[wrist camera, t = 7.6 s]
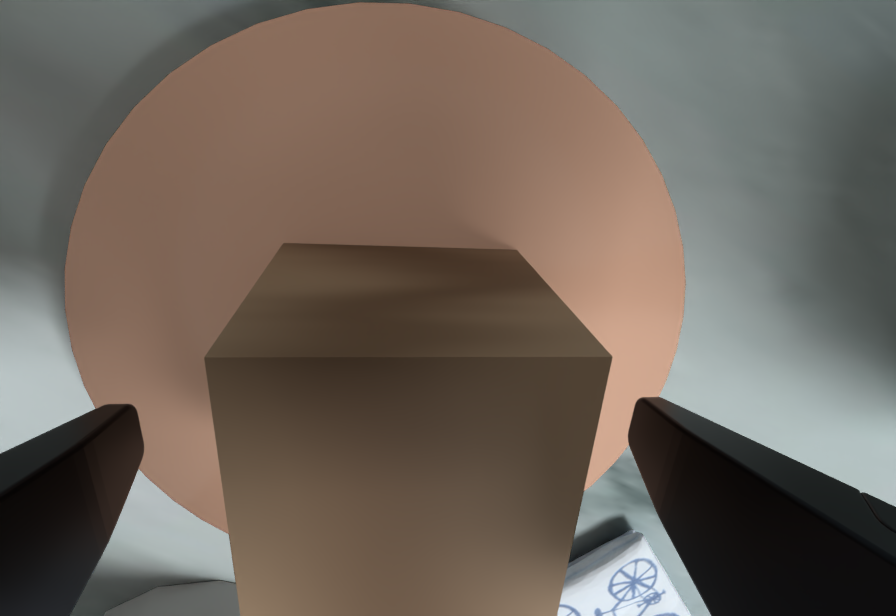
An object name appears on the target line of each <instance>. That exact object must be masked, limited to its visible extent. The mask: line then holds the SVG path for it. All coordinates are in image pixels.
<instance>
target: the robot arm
mask: <svg viewBox="0 0 896 616" xmlns="http://www.w3.org/2000/svg"><path fill="white" fill-rule="evenodd" d="M628 443H629V446H630V449H631V451H632V454H633V456H634V459H635V461H636V463H637V466H638V468H639V471H640V473H641V476H642V478H643V481H644V483H645V485H646V488H647V490H648V493H649V495H650V498H651V500H652V503H653V505H654V507H655V509H656V512H657V514H658V516H659V518H660V520H661V522H662V524H663V526H664V528H665V530H666V532H667V534H668V536H669V537H670V539H671V541H672V543H673V545H674V547H675V549H676V551H677V552H678V554H679V556H680V558H681V560H682V562H683V564H684V566H685V567H686V569H687V571H688V573H689V575H690V577H691V579H692V580H693V582H694V584H695V586H696V588H697V590H698V592H699V594H700V595H701V597H702V599H703V601H704V603H705V605H706V607H707V609H708V610H709V612H710V614H711V616H896V507H895V506H893V505H890V504H888V503H886V502H884V501H882V500H880V499H877V498H875V497H873V496H871V495H869V494H867V493H864V492H863V493H860V491H859V490H858V489H856V488H854V487H852V486H849V485H847V484H845V483H843V482H841V481H839V480H837V479H834V478H832V477H830V476H828V475H826V474H824V473H822V472H819V471H817V470H815V469H813V468H811V467H809V466H807V465H804V464H802V463H800V462H798V461H796V460H794V459H792V458H789V457H787V456H785V455H783V454H781V453H779V452H777V451H774V450H772V449H770V448H768V447H766V446H764V445H762V444H759V443H757V442H755V441H753V440H751V439H749V438H747V437H744V436H742V435H740V434H738V433H736V432H734V431H732V430H729V429H727V428H725V427H723V426H721V425H719V424H717V423H714V422H712V421H710V420H708V419H706V418H704V417H702V416H699V415H697V414H695V413H693V412H691V411H689V410H687V409H684V408H682V407H680V406H678V405H676V404H674V403H672V402H669V401H667V400H665V399H663V398H661V397H641V398H639V399H638V400H637V401H636V403H635V406H634V410H633V414H632V418H631V422H630V426H629V430H628ZM143 454H144V441H143V436H142V431H141V426H140V421H139V416H138V412H137V409H136V408H135V406H133V405H132V404H106V405H103V406H101V407H99V408H96V409H94V410H92V411H90V412H88V413H86V414H84V415H82V416H79V417H77V418H75V419H73V420H71V421H69V422H67V423H65V424H62V425H60V426H58V427H56V428H54V429H52V430H50V431H48V432H45V433H43V434H41V435H39V436H37V437H35V438H33V439H31V440H28V441H26V442H24V443H22V444H20V445H18V446H16V447H14V448H11V449H9V450H7V451H5V452H3V453H1V454H0V616H70V614H71V612H72V610H73V609H74V607H75V605H76V603H77V601H78V599H79V597H80V595H81V594H82V592H83V590H84V588H85V586H86V584H87V582H88V580H89V579H90V577H91V575H92V573H93V571H94V569H95V567H96V565H97V564H98V562H99V560H100V558H101V556H102V554H103V552H104V550H105V548H106V546H107V544H108V542H109V540H110V538H111V535H112V533H113V531H114V528H115V526H116V524H117V521H118V519H119V516H120V514H121V511H122V509H123V506H124V504H125V501H126V499H127V496H128V494H129V491H130V489H131V486H132V484H133V481H134V479H135V476H136V474H137V471H138V469H139V466H140V464H141V461H142V458H143Z"/></svg>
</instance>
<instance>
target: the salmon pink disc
mask: <svg viewBox="0 0 896 616" xmlns="http://www.w3.org/2000/svg"><path fill="white" fill-rule="evenodd" d="M283 243H303V244H338V245H372V246H407V247H441V248H476V249H510V250H518V252H519V253H520V254H521V255H522V256H523V257H524V258H525V259H526V261H527V262H528V263H529V264H530V265H531V266H532V267H533V268H534V269H535V271H536V272H537V273H538V274H539V275H540V276H541V277H542V278H543V280H544V281H545V282H546V283H547V284H548V285H549V286H550V287H551V288H552V290H553V291H554V292H555V293H556V294H557V295H558V296H559V297H560V298H561V300H562V301H563V302H564V303H565V304H566V305H567V306H568V307H569V309H570V310H571V311H572V312H573V313H574V314H575V315H576V316H577V317H578V319H579V320H580V321H581V322H582V323H583V324H584V325H585V326H586V328H587V329H588V330H589V331H590V332H591V333H592V334H593V335H594V336H595V338H596V339H597V340H598V341H599V342H600V343H601V344H602V345H603V347H604V348H605V349H606V350H607V351H608V352H609V353H610V354H611V355H612V357H613V358H612V362H611V367H610V372H609V376H608V381H607V386H606V390H605V395H604V399H603V404H602V409H601V413H600V418H599V423H598V427H597V432H596V437H595V441H594V446H593V451H592V455H591V460H590V464H589V469H588V474H587V478H586V483H585V488H584V491H585V490H586V489H588V488H589V487H590V486H591V485H593V484H594V483H595V482H596V481H597V480H598V479H599V478H600V477H601V476H602V475H603V474H604V473H605V472H606V471H607V470H608V469H609V468H610V467H611V466H612V465H613V464H614V463H615V461H616V460H617V459H618V458H619V456H620V455H621V454H622V453H623V452H624V450H625V449H626V448H627V447H628V445H629V443H628V430H629V426H630V422H631V418H632V414H633V410H634V406H635V403H636V401H637V400H638V399H639V398H641V397H659V395H660V393H661V391H662V388H663V386H664V384H665V382H666V380H667V377H668V374H669V371H670V368H671V365H672V362H673V359H674V356H675V353H676V350H677V345H678V340H679V335H680V330H681V326H682V321H683V313H684V298H685V283H686V282H685V268H684V253H683V244H682V240H681V235H680V230H679V226H678V221H677V216H676V212H675V209H674V206H673V203H672V201H671V198H670V195H669V192H668V190H667V187H666V184H665V182H664V179H663V176H662V174H661V172H660V170H659V168H658V167H657V165H656V163H655V161H654V159H653V158H652V156H651V154H650V152H649V150H648V148H647V147H646V145H645V143H644V141H643V139H642V138H641V137H640V136H639V134H638V133H637V132H636V130H635V129H634V128H633V126H632V125H631V124H630V122H629V121H628V120H627V118H626V117H625V116H624V115H623V113H622V112H621V111H620V109H619V108H618V107H617V106H616V105H615V104H614V103H613V102H612V101H611V100H610V99H609V98H608V97H607V96H606V95H605V94H604V93H603V92H602V91H601V90H600V89H599V88H598V87H597V86H596V85H595V84H594V83H593V82H592V81H591V80H590V79H589V78H588V77H587V76H585V75H584V74H583V73H581V72H580V71H578V70H577V69H576V68H574V67H573V66H571V65H570V64H569V63H567V62H566V61H564V60H563V59H562V58H560V57H559V56H557V55H556V54H555V53H553V52H552V51H550V50H549V49H547V48H545V47H543V46H541V45H539V44H537V43H535V42H533V41H531V40H529V39H527V38H526V37H524V36H522V35H520V34H518V33H516V32H514V31H512V30H510V29H508V28H506V27H503V26H500V25H497V24H494V23H491V22H488V21H485V20H482V19H479V18H476V17H473V16H470V15H467V14H464V13H461V12H456V11H450V10H444V9H439V8H433V7H427V6H421V5H415V4H409V3H363V2H358V3H350V4H342V5H335V6H327V7H319V8H312V9H306V10H302V11H299V12H295V13H292V14H288V15H285V16H281V17H278V18H275V19H271V20H268V21H264V22H261V23H257V24H255V25H253V26H251V27H249V28H247V29H245V30H242V31H240V32H238V33H236V34H234V35H232V36H230V37H228V38H225V39H223V40H221V41H219V42H217V43H215V44H213V45H211V46H209V47H208V48H206V49H205V50H203V51H202V52H200V53H199V54H197V55H196V56H194V57H193V58H191V59H190V60H189V61H187V62H186V63H184V64H183V65H181V66H180V67H178V68H177V69H175V70H174V71H172V72H171V73H169V74H168V75H167V76H166V77H165V78H164V79H163V80H162V81H161V82H160V83H159V84H158V85H157V86H156V87H155V88H154V89H153V90H152V91H150V92H149V93H148V94H147V95H146V96H145V97H144V98H143V99H142V100H141V101H140V102H139V103H138V104H137V105H136V106H135V107H134V108H133V109H132V110H131V112H130V113H129V114H128V116H127V117H126V118H125V120H124V121H123V122H122V124H121V125H120V126H119V128H118V129H117V130H116V132H115V133H114V134H113V136H112V137H111V138H110V140H109V141H108V142H107V144H106V145H105V147H104V149H103V151H102V153H101V154H100V156H99V158H98V160H97V162H96V164H95V166H94V168H93V170H92V172H91V174H90V176H89V178H88V179H87V181H86V183H85V185H84V188H83V191H82V194H81V197H80V201H79V204H78V207H77V210H76V213H75V216H74V219H73V222H72V225H71V230H70V236H69V243H68V250H67V256H66V263H65V312H66V317H67V323H68V329H69V335H70V341H71V347H72V351H73V354H74V357H75V360H76V363H77V366H78V369H79V372H80V375H81V378H82V381H83V384H84V386H85V388H86V390H87V392H88V394H89V396H90V398H91V400H92V402H93V404H94V406H95V408H99V407H101V406H103V405H106V404H132V405H133V406H135V408H136V409H137V412H138V416H139V421H140V426H141V431H142V436H143V441H144V454H143V458H142V461H141V464H140V466H139V469H140V470H141V472H142V473H143V474H144V475H145V476H146V477H147V478H148V479H149V480H150V481H152V482H153V483H154V484H155V485H156V486H157V487H159V488H160V489H161V490H162V491H163V492H164V493H165V494H167V495H168V496H169V497H170V498H171V499H172V500H174V501H175V502H177V503H178V504H179V505H181V506H182V507H184V508H185V509H187V510H188V511H190V512H191V513H193V514H194V515H196V516H197V517H198V518H200V519H201V520H203V521H205V522H207V523H209V524H211V525H213V526H214V527H216V528H218V529H220V530H222V531H224V532H226V533H228V534H229V531H228V524H227V517H226V510H225V503H224V496H223V489H222V482H221V474H220V467H219V460H218V453H217V446H216V439H215V432H214V425H213V418H212V410H211V403H210V396H209V389H208V382H207V375H206V368H205V361H204V357H205V355H206V354H207V352H208V351H209V350H210V348H211V347H212V345H213V344H214V342H215V341H216V339H217V338H218V337H219V335H220V334H221V332H222V331H223V329H224V328H225V326H226V325H227V324H228V322H229V321H230V319H231V318H232V316H233V315H234V313H235V312H236V311H237V309H238V308H239V306H240V305H241V303H242V302H243V300H244V299H245V298H246V296H247V295H248V293H249V292H250V290H251V289H252V287H253V286H254V285H255V283H256V282H257V280H258V279H259V277H260V276H261V274H262V273H263V272H264V270H265V269H266V267H267V266H268V264H269V263H270V262H271V260H272V259H273V257H274V256H275V254H276V253H277V251H278V250H279V249H280V247H281V246H282V244H283Z"/></svg>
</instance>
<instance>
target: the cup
mask: <svg viewBox="0 0 896 616" xmlns="http://www.w3.org/2000/svg"><path fill="white" fill-rule="evenodd" d="M103 616H240V609H239V602H238V595H237V588H236V584H235V583H230V582H225V581H221V580H219V581H210V582H200V583H191V584H181V585H172V586H162V587H156V588H154V589H152V590H150V591H148V592H146V593H144V594H141V595H139V596H137V597H135V598H133V599H131V600H129V601H127V602H125V603H123V604H120V605H118V606H116V607H114V608H112V609H110V610H108V611H106V612H105V614H104V615H103Z"/></svg>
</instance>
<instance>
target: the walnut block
mask: <svg viewBox="0 0 896 616" xmlns="http://www.w3.org/2000/svg"><path fill="white" fill-rule="evenodd" d="M612 358H613V357H612V355H611V354H610V353H609V352H608V351H607V350H606V349H605V348H604V347H603V345H602V344H601V343H600V342H599V341H598V340H597V339H596V338H595V336H594V335H593V334H592V333H591V332H590V331H589V330H588V329H587V328H586V326H585V325H584V324H583V323H582V322H581V321H580V320H579V319H578V317H577V316H576V315H575V314H574V313H573V312H572V311H571V310H570V309H569V307H568V306H567V305H566V304H565V303H564V302H563V301H562V300H561V298H560V297H559V296H558V295H557V294H556V293H555V292H554V291H553V290H552V288H551V287H550V286H549V285H548V284H547V283H546V282H545V281H544V280H543V278H542V277H541V276H540V275H539V274H538V273H537V272H536V271H535V269H534V268H533V267H532V266H531V265H530V264H529V263H528V262H527V261H526V259H525V258H524V257H523V256H522V255H521V254H520V253H519V252H518V250H510V249H476V248H441V247H407V246H372V245H338V244H303V243H283V244H282V246H281V247H280V249H279V250H278V251H277V253H276V254H275V256H274V257H273V259H272V260H271V262H270V263H269V264H268V266H267V267H266V269H265V270H264V272H263V273H262V274H261V276H260V277H259V279H258V280H257V282H256V283H255V285H254V286H253V287H252V289H251V290H250V292H249V293H248V295H247V296H246V298H245V299H244V300H243V302H242V303H241V305H240V306H239V308H238V309H237V311H236V312H235V313H234V315H233V316H232V318H231V319H230V321H229V322H228V324H227V325H226V326H225V328H224V329H223V331H222V332H221V334H220V335H219V337H218V338H217V339H216V341H215V342H214V344H213V345H212V347H211V348H210V350H209V351H208V352H207V354H206V355H205V357H204V361H205V368H206V375H207V382H208V389H209V396H210V403H211V410H212V418H213V425H214V432H215V439H216V446H217V453H218V460H219V467H220V474H221V482H222V489H223V496H224V503H225V510H226V517H227V524H228V531H229V538H230V546H231V553H232V560H233V567H234V574H235V581H236V588H237V595H238V602H239V609H240V616H557V613H558V609H559V604H560V599H561V595H562V590H563V585H564V581H565V576H566V571H567V567H568V562H569V557H570V553H571V548H572V543H573V539H574V534H575V530H576V525H577V520H578V516H579V511H580V506H581V502H582V497H583V492H584V488H585V483H586V478H587V474H588V469H589V464H590V460H591V455H592V451H593V446H594V441H595V437H596V432H597V427H598V423H599V418H600V413H601V409H602V404H603V399H604V395H605V390H606V386H607V381H608V376H609V372H610V367H611V362H612Z"/></svg>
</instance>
